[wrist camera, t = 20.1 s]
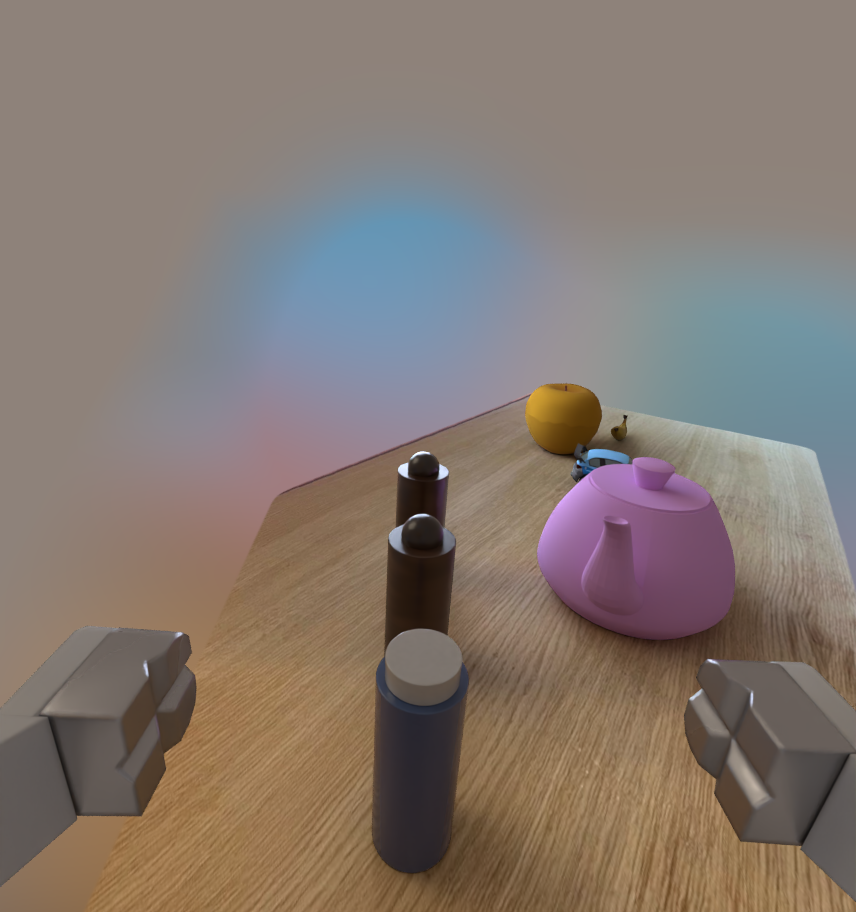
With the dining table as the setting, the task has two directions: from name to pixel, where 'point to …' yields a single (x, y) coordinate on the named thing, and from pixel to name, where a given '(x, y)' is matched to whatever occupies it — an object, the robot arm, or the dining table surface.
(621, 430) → the banana
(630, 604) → the teapot
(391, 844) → the blue shaker
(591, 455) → the toy car
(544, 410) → the apple
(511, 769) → the dining table surface
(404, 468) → the far mill
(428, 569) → the near mill
